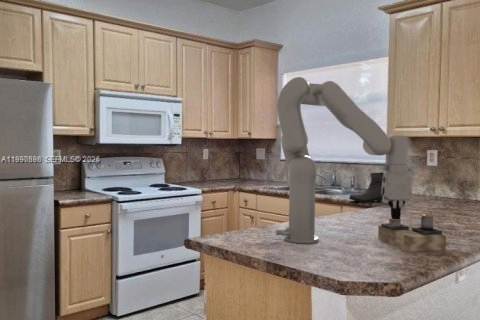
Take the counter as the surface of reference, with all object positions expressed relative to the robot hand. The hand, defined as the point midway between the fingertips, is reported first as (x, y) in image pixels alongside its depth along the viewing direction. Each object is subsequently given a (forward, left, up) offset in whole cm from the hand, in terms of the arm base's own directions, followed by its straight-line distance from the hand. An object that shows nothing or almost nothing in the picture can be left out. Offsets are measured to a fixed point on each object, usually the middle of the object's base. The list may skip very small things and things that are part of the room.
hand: (395, 218), depth 158 cm
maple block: (+3, -4, -9) cm, 10 cm away
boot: (+48, +108, -9) cm, 119 cm away
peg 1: (0, 0, -7) cm, 7 cm away
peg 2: (+7, -9, -4) cm, 12 cm away
